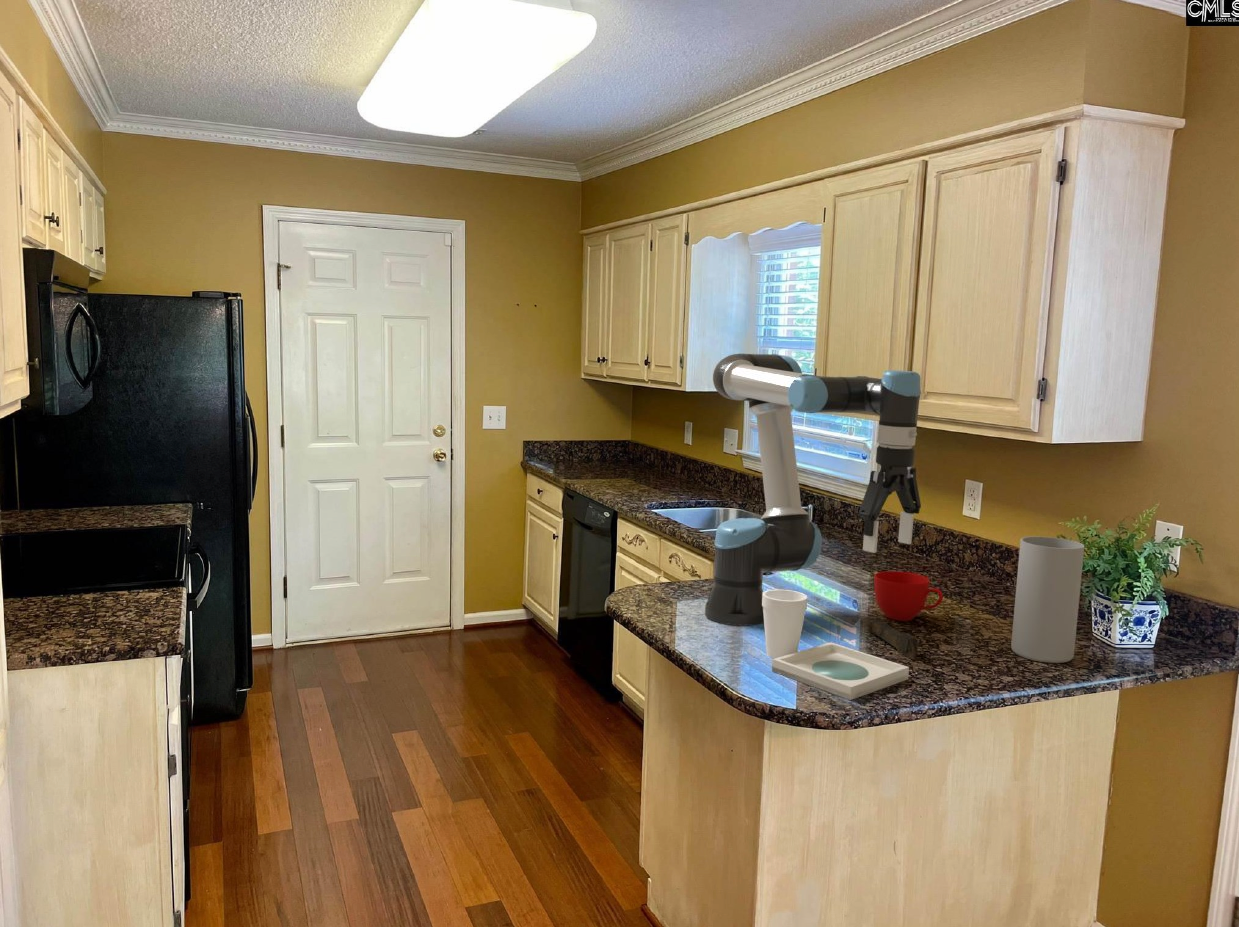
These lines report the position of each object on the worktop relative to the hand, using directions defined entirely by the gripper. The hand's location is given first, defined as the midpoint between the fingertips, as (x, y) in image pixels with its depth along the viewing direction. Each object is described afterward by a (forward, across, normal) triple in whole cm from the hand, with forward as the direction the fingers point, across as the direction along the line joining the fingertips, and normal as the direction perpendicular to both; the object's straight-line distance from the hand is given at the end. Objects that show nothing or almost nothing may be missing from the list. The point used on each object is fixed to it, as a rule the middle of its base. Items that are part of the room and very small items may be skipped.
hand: (887, 547), depth 195 cm
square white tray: (+24, -16, -1) cm, 29 cm away
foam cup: (+24, -15, +14) cm, 32 cm away
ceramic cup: (+25, +32, +12) cm, 42 cm away
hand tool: (+25, +10, +2) cm, 27 cm away
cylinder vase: (+24, +31, -21) cm, 45 cm away
